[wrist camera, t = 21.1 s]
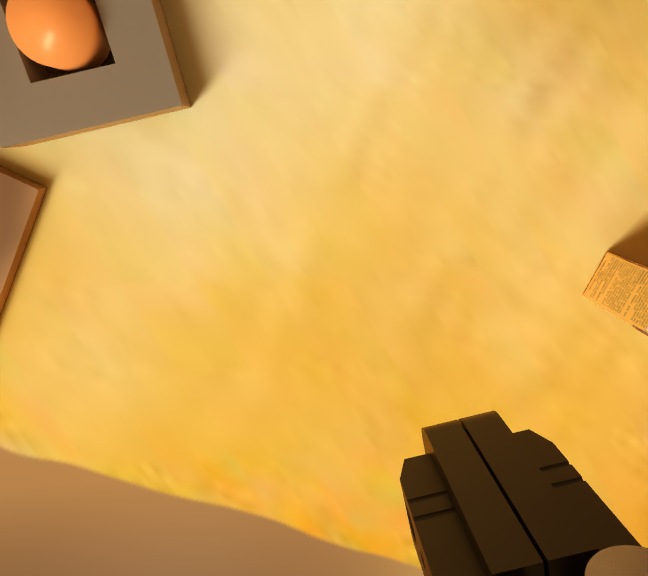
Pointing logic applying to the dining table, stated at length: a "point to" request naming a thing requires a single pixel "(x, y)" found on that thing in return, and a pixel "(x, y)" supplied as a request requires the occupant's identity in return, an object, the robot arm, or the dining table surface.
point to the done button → (59, 32)
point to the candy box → (621, 290)
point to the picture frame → (15, 223)
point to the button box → (92, 80)
